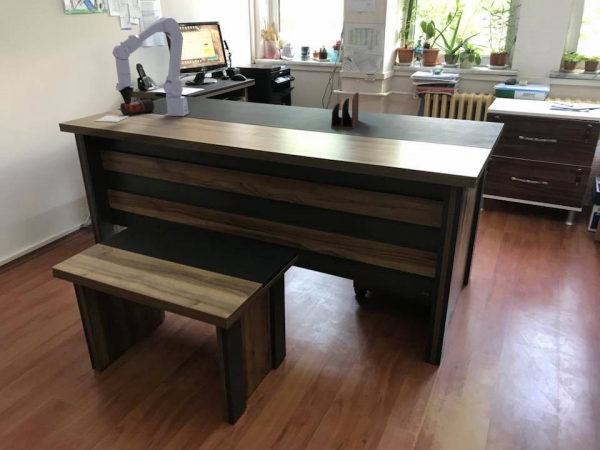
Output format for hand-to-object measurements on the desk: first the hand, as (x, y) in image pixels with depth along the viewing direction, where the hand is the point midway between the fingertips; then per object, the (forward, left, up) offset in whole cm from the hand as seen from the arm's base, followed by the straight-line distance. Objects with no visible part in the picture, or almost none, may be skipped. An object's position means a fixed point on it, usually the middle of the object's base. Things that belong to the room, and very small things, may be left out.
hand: (127, 103), depth 230 cm
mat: (+9, 0, -7) cm, 12 cm away
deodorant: (+7, -9, -4) cm, 12 cm away
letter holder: (-101, -7, -8) cm, 101 cm away
